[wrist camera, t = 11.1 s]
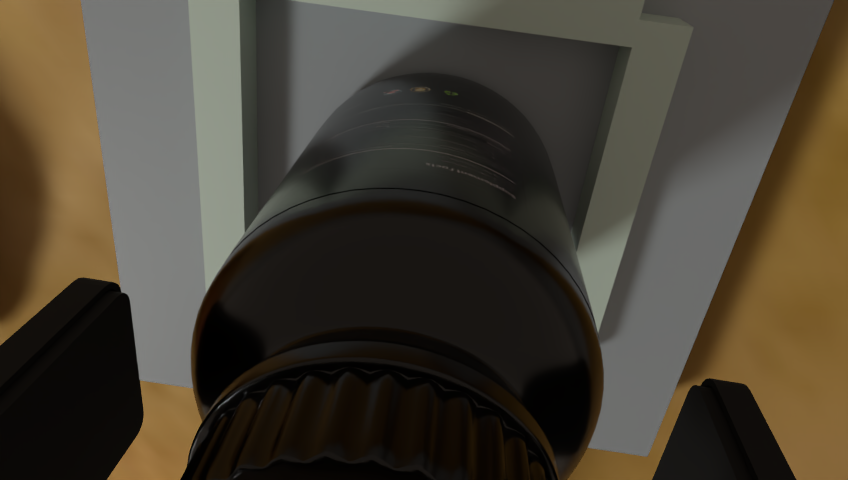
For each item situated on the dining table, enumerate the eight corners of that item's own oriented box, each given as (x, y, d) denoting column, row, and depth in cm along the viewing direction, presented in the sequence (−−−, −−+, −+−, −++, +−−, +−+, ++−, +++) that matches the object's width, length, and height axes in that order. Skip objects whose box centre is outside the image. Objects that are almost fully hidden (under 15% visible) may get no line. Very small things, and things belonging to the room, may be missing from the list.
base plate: (839, -150, 15) (933, -161, 12) (632, 405, 24) (655, 484, 21) (105, -246, 16) (6, -282, 12) (165, 335, 24) (115, 403, 21)
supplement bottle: (547, 293, 19) (621, 785, 9) (323, 287, 20) (136, 742, 9) (564, 60, 16) (721, 399, 5) (295, 63, 16) (-46, 370, 6)
